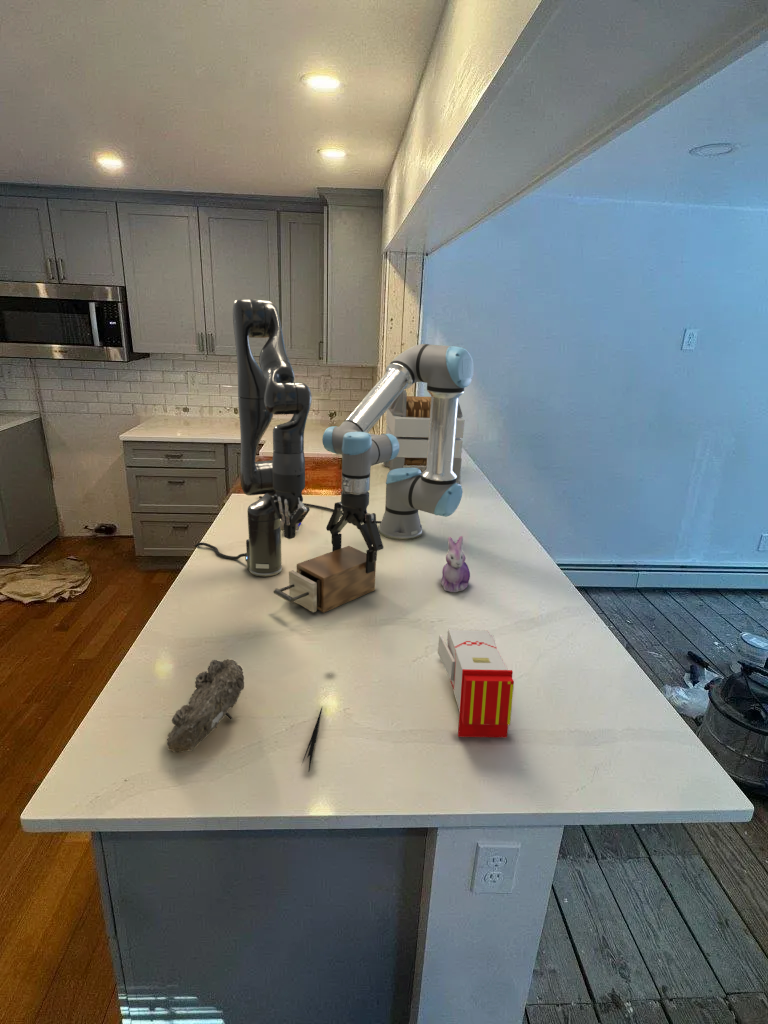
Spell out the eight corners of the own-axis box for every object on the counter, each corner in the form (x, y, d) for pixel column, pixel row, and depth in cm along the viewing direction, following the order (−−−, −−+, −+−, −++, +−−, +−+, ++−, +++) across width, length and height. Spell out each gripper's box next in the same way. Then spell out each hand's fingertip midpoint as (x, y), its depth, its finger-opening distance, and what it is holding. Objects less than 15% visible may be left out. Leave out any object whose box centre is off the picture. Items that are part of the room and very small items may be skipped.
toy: (488, 613, 130) (523, 677, 101) (484, 667, 133) (517, 744, 104) (435, 612, 130) (455, 676, 101) (432, 666, 133) (451, 743, 103)
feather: (331, 679, 122) (336, 673, 122) (307, 777, 96) (313, 769, 95) (324, 675, 122) (329, 669, 121) (298, 772, 95) (304, 764, 95)
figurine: (451, 596, 157) (455, 546, 152) (431, 580, 166) (435, 533, 161) (478, 590, 162) (484, 541, 157) (458, 575, 170) (462, 529, 165)
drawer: (294, 620, 140) (293, 591, 138) (270, 606, 147) (269, 578, 144) (362, 591, 156) (363, 564, 154) (338, 578, 163) (339, 553, 160)
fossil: (192, 660, 117) (244, 628, 112) (224, 691, 120) (276, 661, 115) (142, 746, 98) (202, 712, 93) (182, 779, 101) (242, 748, 96)
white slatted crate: (382, 463, 289) (386, 382, 275) (445, 464, 293) (451, 384, 279) (390, 482, 257) (394, 392, 243) (460, 483, 261) (468, 394, 247)
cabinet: (323, 613, 146) (323, 578, 143) (297, 597, 154) (296, 563, 150) (374, 590, 159) (376, 557, 156) (348, 576, 166) (348, 545, 163)
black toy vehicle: (298, 540, 193) (303, 520, 207) (298, 520, 190) (303, 501, 204) (279, 540, 193) (285, 519, 207) (278, 520, 190) (284, 501, 203)
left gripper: (258, 465, 134) (261, 533, 140) (293, 478, 126) (294, 550, 132) (284, 460, 140) (285, 526, 145) (319, 472, 131) (319, 541, 137)
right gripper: (314, 482, 156) (313, 553, 163) (378, 505, 140) (375, 582, 147) (334, 477, 161) (333, 546, 168) (399, 499, 145) (394, 574, 152)
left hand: (289, 537), depth 139 cm, fingers closed
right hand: (352, 563), depth 158 cm, fingers open, 13 cm apart
